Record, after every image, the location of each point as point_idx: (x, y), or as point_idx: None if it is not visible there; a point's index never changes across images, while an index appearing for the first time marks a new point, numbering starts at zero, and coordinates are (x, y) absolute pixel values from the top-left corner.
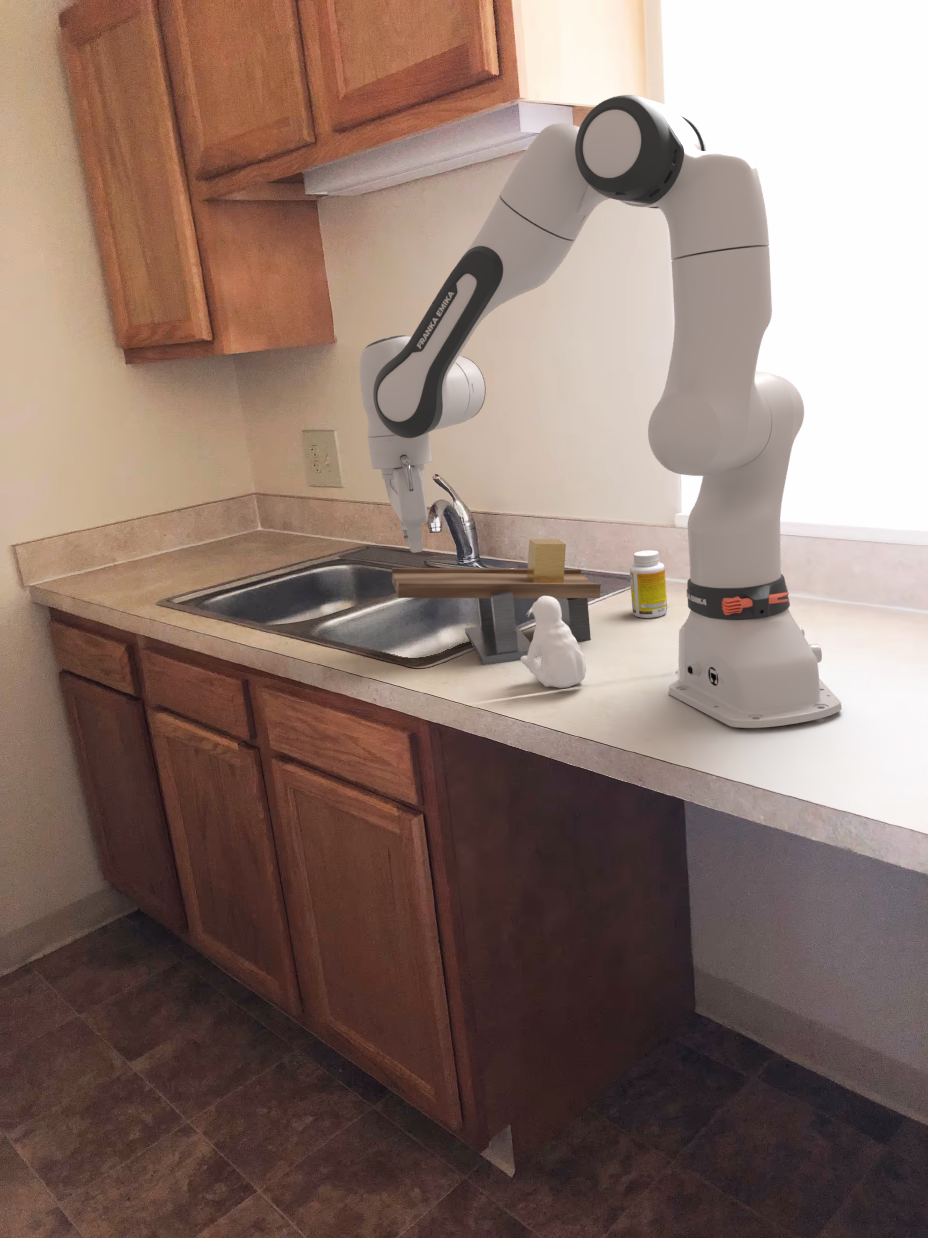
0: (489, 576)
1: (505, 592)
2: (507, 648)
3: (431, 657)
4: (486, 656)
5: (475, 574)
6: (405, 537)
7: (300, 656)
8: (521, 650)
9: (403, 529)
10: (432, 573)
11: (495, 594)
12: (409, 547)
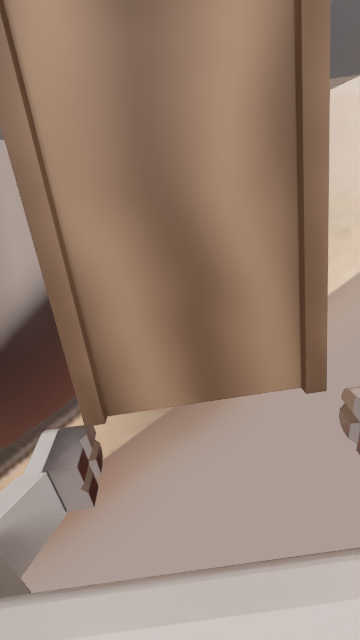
0: (88, 60)
1: (345, 6)
2: None
3: None
4: None
5: (59, 127)
6: (96, 472)
7: (108, 449)
8: None
9: (60, 514)
10: (86, 298)
11: (349, 58)
12: (349, 436)
